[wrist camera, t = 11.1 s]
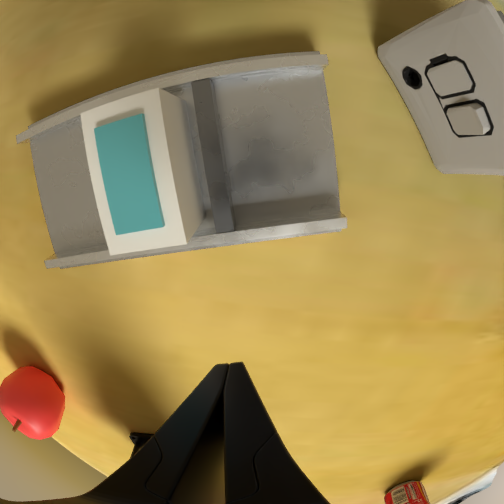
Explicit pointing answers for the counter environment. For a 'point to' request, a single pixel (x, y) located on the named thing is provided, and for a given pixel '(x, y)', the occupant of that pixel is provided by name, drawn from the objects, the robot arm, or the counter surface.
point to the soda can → (407, 494)
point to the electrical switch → (454, 85)
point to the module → (143, 171)
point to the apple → (32, 402)
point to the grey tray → (210, 157)
